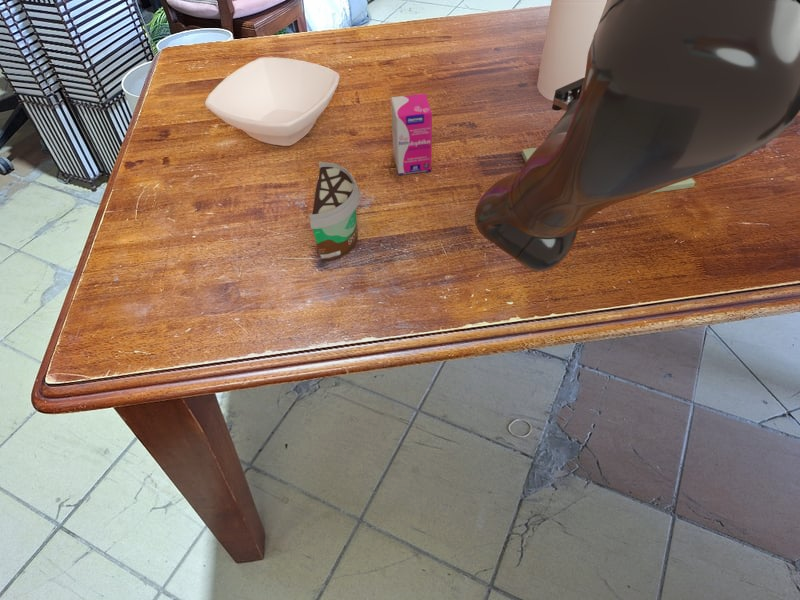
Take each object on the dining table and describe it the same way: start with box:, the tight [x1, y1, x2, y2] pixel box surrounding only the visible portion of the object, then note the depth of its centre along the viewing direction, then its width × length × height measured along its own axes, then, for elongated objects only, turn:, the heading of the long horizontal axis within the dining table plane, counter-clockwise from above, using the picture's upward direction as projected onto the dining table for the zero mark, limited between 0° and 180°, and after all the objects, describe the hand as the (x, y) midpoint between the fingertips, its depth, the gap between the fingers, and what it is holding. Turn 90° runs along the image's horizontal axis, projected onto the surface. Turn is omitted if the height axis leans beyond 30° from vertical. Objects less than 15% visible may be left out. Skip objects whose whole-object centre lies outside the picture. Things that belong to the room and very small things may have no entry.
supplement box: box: [390, 93, 433, 176], centre depth 86 cm, size 6×6×12 cm
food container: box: [308, 161, 361, 263], centre depth 76 cm, size 12×6×10 cm, turn 179°
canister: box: [536, 0, 607, 102], centre depth 96 cm, size 14×14×20 cm
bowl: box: [204, 56, 340, 147], centre depth 95 cm, size 21×21×9 cm
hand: (625, 79), depth 72 cm, fingers closed on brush, 3 cm apart
